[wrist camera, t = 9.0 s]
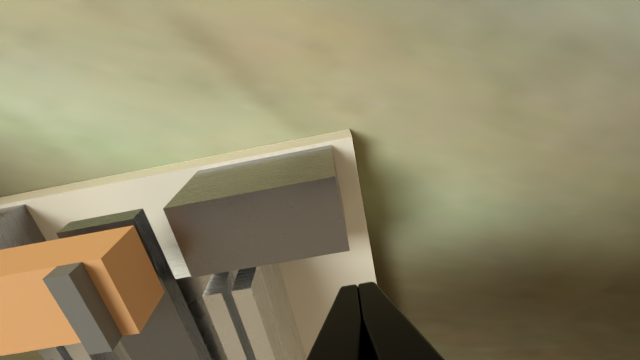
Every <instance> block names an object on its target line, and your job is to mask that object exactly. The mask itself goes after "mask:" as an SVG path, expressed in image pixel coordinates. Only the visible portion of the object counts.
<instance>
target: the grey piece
mask: <svg viewBox="0 0 640 360" xmlns="http://www.w3.org/2000/svg"><path fill="white" fill-rule="evenodd" d="M163 210H164V212H165V215H166V217H167V220H168V222H169V224H170V227H171V229H172V232H173V234H174V236H175V239H176V241H177V244H178V246H173V247H168V248H162V251H163V253H164V256H165V258H166V260H167V262H168V264H169V266H170V269H171V271H172V273H173V275H174V277H175V279H176V282H177V284H178V286H179V288H180V290H181V293H182V295H183V297H184V299H185V301H186V303H187V306H188V308H189V310H190V312H191V314H192V316H193V319H194V321H195V323H196V325H197V327H198V329H199V332H200V334H201V336H202V338H203V340H204V343H205V345H206V347H207V349H208V351H209V353H210V356H211V358H212V360H306V355H305V352H304V349H303V345H302V342H301V338H300V335H299V332H298V328H297V325H296V321H295V318H294V315H293V311H292V308H291V304H290V301H289V298H288V294H287V291H286V287H285V284H284V281H283V277H282V274H281V270H280V267H279V264H278V263H281V262H287V261H293V260H299V259H305V258H311V257H316V256H322V255H328V254H334V253H340V252H346V251H350V249H349V242H348V235H347V228H346V222H345V215H344V208H343V202H342V197H341V192H340V187H339V182H338V177H337V172H336V166H335V161H334V156H333V151H332V146H331V145H328V146H323V147H318V148H313V149H307V150H302V151H297V152H292V153H287V154H282V155H276V156H271V157H266V158H261V159H256V160H251V161H245V162H240V163H235V164H230V165H225V166H220V167H214V168H209V169H204V170H199V171H197V172H196V173H195V174H194V175H193V177H192V178H191V179H190V180H189V181H188V182H187V183H186V184H185V185H184V186H183V187H182V188H181V190H180V191H179V192H178V193H177V194H176V195H175V196H174V197H173V198H172V199H171V200H170V201H169V203H168V204H167V205H166V206H165V207H164V208H163ZM45 241H46V239H45V238H44V236H43V234H42V233H41V231H40V229H39V227H38V226H37V224H36V222H35V221H34V219H33V217H32V215H31V214H30V212H29V210H28V209H27V207H26V205H25V204H23V205H18V206H13V207H8V208H2V209H0V250H2V249H7V248H13V247H18V246H24V245H29V244H35V243H40V242H45ZM38 351H39V352H40V354H41V355H42V357H43V358H44V360H131V358H130V357H129V355H128V353H127V352H126V350H125V348H124V347H123V345H122V343H121V342H120V341H119V342H118V344H117V345H116V347H115V348H114V350H113V351H111V352H104V353H98V354H92V355H89V354H88V352H87V351H86V349H85V348H84V346H83V344H82V343H76V344H70V345H64V346H58V347H51V348H45V349H39V350H38Z"/></svg>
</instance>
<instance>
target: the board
mask: <svg viewBox="0 0 640 360" xmlns="http://www.w3.org/2000/svg"><path fill="white" fill-rule="evenodd" d="M328 145H331V146H332V151H333V156H334V161H335V166H336V172H337V177H338V182H339V187H340V192H341V197H342V202H343V208H344V215H345V222H346V228H347V235H348V242H349V249H350V251H346V252H340V253H334V254H328V255H322V256H316V257H311V258H305V259H299V260H293V261H287V262H281V263H278V264H279V267H280V270H281V274H282V277H283V281H284V284H285V287H286V291H287V294H288V298H289V301H290V304H291V308H292V311H293V315H294V318H295V321H296V325H297V328H298V332H299V335H300V338H301V342H302V345H303V349H304V352H305V355H306V359H307V357H308V355H309V353H310V351H311V349H312V347H313V345H314V342H315V340H316V338H317V336H318V334H319V332H320V330H321V328H322V326H323V324H324V321H325V319H326V317H327V315H328V313H329V311H330V309H331V307H332V305H333V302H334V300H335V298H336V296H337V294H338V292H339V290H340V288H341V287H342V286H347V285H353V284H356V285H357V286H358V285H359V284H360V283H366V282H375V283H376V284H377V282H376V276H375V271H374V265H373V259H372V253H371V247H370V241H369V235H368V229H367V223H366V217H365V212H364V206H363V200H362V194H361V188H360V182H359V176H358V170H357V164H356V158H355V152H354V147H353V141H352V136H351V133H350V130H349V129H346V130H341V131H336V132H331V133H326V134H321V135H315V136H310V137H305V138H300V139H295V140H290V141H285V142H280V143H275V144H270V145H264V146H259V147H254V148H249V149H244V150H239V151H234V152H229V153H224V154H219V155H213V156H208V157H203V158H198V159H193V160H188V161H183V162H178V163H173V164H168V165H162V166H157V167H152V168H147V169H142V170H137V171H132V172H127V173H122V174H117V175H111V176H106V177H101V178H96V179H91V180H86V181H81V182H76V183H71V184H66V185H60V186H55V187H50V188H45V189H40V190H35V191H30V192H25V193H20V194H15V195H9V196H4V197H1V198H0V209H2V208H8V207H13V206H18V205H23V204H25V205H26V207H27V209H28V210H29V212H30V214H31V215H32V217H33V219H34V221H35V222H36V224H37V226H38V227H39V229H40V231H41V233H42V234H43V236H44V238H45V239H46V241H51V240H56V239H59V237H58V236H57V234H56V233H57V232H58V231H59V230H61V229H62V228H63V227H64V226H66V225H67V224H68V223H70V222H73V221H78V220H84V219H89V218H94V217H100V216H105V215H110V214H116V213H121V212H126V211H132V210H137V209H142V208H143V210H144V212H145V214H146V216H147V219H148V221H149V223H150V225H151V227H152V229H153V232H154V234H155V236H156V238H157V240H158V243H159V245H160V247H161V249H162V248H168V247H173V246H178V244H177V241H176V239H175V236H174V234H173V232H172V229H171V227H170V224H169V222H168V220H167V217H166V215H165V212H164V210H163V208H164V207H165V206H166V205H167V204H168V203H169V201H170V200H171V199H172V198H173V197H174V196H175V195H176V194H177V193H178V192H179V191H180V190H181V188H182V187H183V186H184V185H185V184H186V183H187V182H188V181H189V180H190V179H191V178H192V177H193V175H194V174H195V173H196V172H197V171H199V170H204V169H209V168H214V167H220V166H225V165H230V164H235V163H240V162H245V161H251V160H256V159H261V158H266V157H271V156H276V155H282V154H287V153H292V152H297V151H302V150H307V149H313V148H318V147H323V146H328Z"/></svg>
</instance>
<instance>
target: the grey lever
mask: <svg viewBox="0 0 640 360" xmlns="http://www.w3.org/2000/svg"><path fill="white" fill-rule="evenodd" d="M132 225H134V226H135V229H136V231H137V233H138V235H139V237H140V239H141V242H142V244H143V246H144V248H145V250H146V253H147V255H148V257H149V259H150V261H151V263H152V266H153V268H154V270H155V272H156V274H157V276H158V279H159V281H160V283H161V285H162V287H163V289H164V292H165V293H164V294H163V296H162V298H161V299H160V301H159V303H158V304H157V306H156V308H155V309H154V311H153V312H152V314H151V316H150V317H149V319H148V321H147V322H146V324H145V326H144V327H143V329H142V330H141V332H140V333H139V334H132V335H126V336H122V338H121V339H120V342H121V343H122V345H123V347H124V348H125V350H126V352H127V353H128V355H129V357H130V358H131V360H212V358H211V356H210V353H209V351H208V349H207V347H206V345H205V343H204V340H203V338H202V336H201V334H200V332H199V329H198V327H197V325H196V323H195V321H194V319H193V316H192V314H191V312H190V310H189V308H188V306H187V303H186V301H185V299H184V297H183V295H182V293H181V290H180V288H179V286H178V284H177V282H176V279H175V277H174V275H173V273H172V271H171V269H170V266H169V264H168V262H167V260H166V258H165V256H164V253H163V251H162V249H161V247H160V245H159V243H158V240H157V238H156V236H155V234H154V232H153V229H152V227H151V225H150V223H149V221H148V219H147V216H146V214H145V212H144V210H143V208H142V209H137V210H132V211H126V212H121V213H116V214H110V215H105V216H100V217H94V218H89V219H84V220H78V221H73V222H70V223H68V224H67V225H66V226H64V227H63V228H62V229H61V230H59V231H58V232H57V233H56V234H57V236H58V237H59V239H62V238H67V237H73V236H78V235H83V234H89V233H94V232H100V231H105V230H111V229H116V228H121V227H127V226H132Z"/></svg>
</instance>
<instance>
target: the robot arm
mask: <svg viewBox="0 0 640 360" xmlns="http://www.w3.org/2000/svg"><path fill="white" fill-rule="evenodd" d="M306 360H444V358H443V357H442V356H441V355H440V354H439V353H438V352H437V351H436V350H435V348H434V347H433V346H432V345H431V344H430V343H429V342H428V341H427V340H426V339H425V337H424V336H423V335H422V334H421V333H420V332H419V331H418V330H417V329H416V327H415V326H414V325H413V324H412V323H411V322H410V321H409V320H408V319H407V317H406V316H405V315H404V314H403V313H402V312H401V311H400V310H399V309H398V308H397V306H396V305H395V304H394V303H393V302H392V301H391V300H390V299H389V298H388V296H387V295H386V294H385V293H384V292H383V291H382V290H381V289H380V288H379V287H378V285H377V284H376V283H375V282H366V283H360V284H359V285H358V286H357V285H356V284H353V285H347V286H342V287H341V288H340V290H339V292H338V294H337V296H336V298H335V300H334V302H333V305H332V307H331V309H330V311H329V313H328V315H327V317H326V319H325V321H324V324H323V326H322V328H321V330H320V332H319V334H318V336H317V338H316V340H315V342H314V345H313V347H312V349H311V351H310V353H309V355H308V357H307V359H306Z"/></svg>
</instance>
